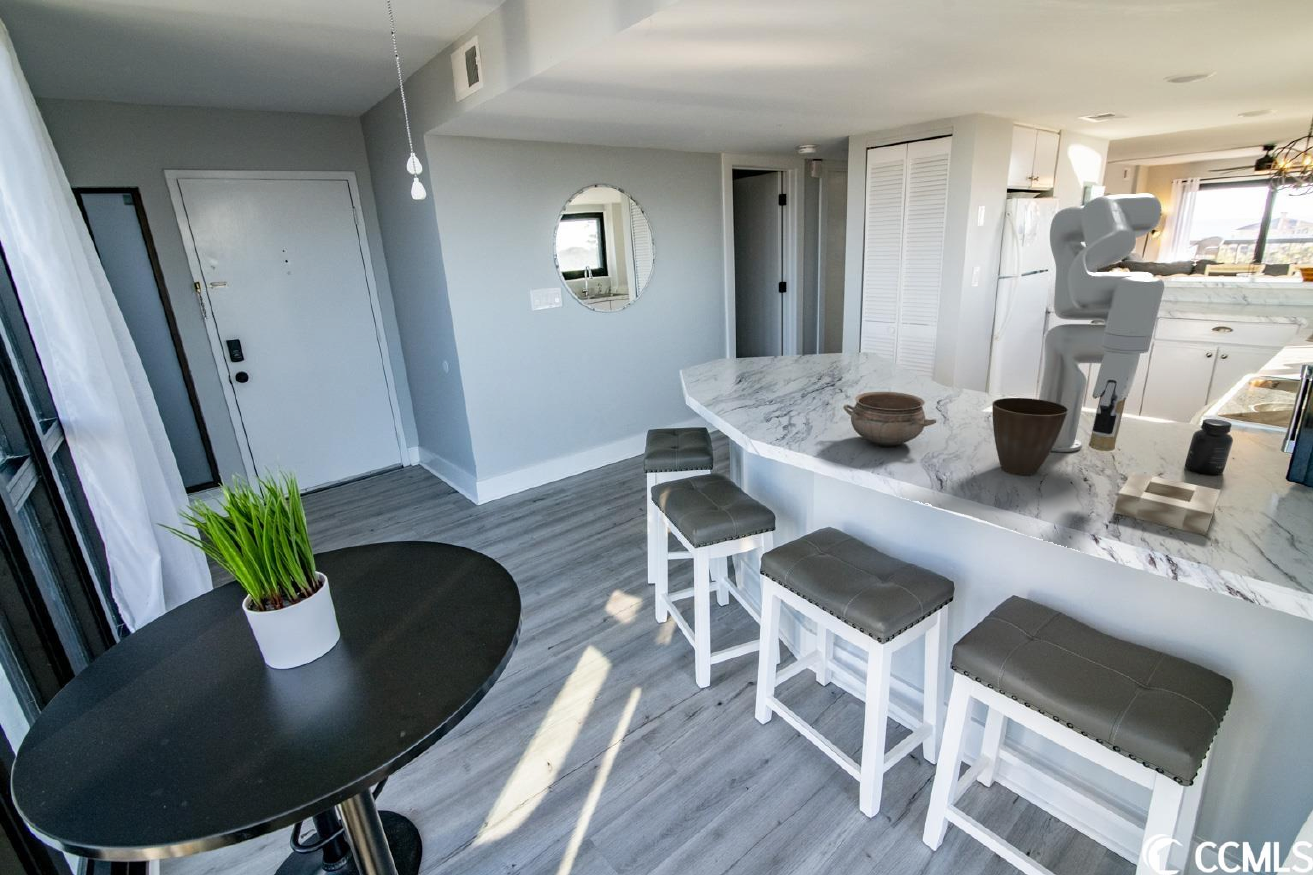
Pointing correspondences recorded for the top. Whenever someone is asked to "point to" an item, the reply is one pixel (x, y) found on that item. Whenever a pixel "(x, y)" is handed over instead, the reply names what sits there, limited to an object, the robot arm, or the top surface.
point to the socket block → (1167, 502)
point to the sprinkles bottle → (1108, 440)
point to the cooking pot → (888, 417)
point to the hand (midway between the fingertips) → (1105, 428)
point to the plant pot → (1025, 432)
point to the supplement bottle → (1210, 448)
